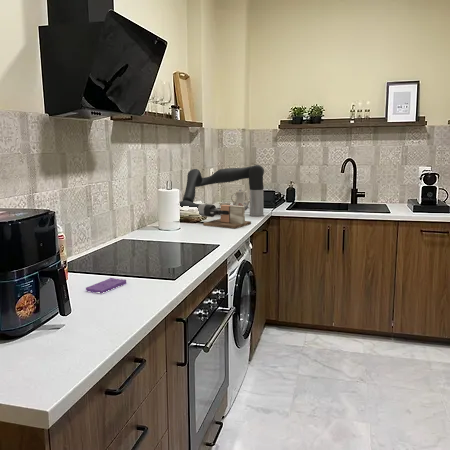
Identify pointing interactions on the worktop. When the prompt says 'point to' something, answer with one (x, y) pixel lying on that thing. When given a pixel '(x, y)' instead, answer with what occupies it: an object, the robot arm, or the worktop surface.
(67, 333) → the worktop surface
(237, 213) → the ticket stand
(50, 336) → the worktop surface
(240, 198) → the chinaware
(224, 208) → the tan upright block
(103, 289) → the sponges
